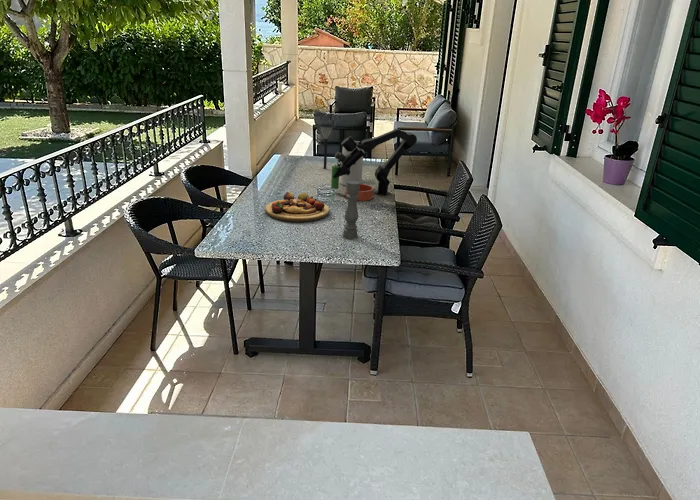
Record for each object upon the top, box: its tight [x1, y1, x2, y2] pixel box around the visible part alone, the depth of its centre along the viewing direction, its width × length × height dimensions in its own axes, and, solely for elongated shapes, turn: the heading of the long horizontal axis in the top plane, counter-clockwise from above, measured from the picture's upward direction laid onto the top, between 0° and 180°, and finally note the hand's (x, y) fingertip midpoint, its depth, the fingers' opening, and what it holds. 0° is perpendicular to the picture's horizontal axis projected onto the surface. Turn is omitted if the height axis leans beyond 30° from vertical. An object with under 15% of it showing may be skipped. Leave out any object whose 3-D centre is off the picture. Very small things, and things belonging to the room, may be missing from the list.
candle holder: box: [342, 181, 360, 240], centre depth 222 cm, size 6×6×25 cm
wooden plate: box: [264, 190, 330, 222], centre depth 252 cm, size 32×32×8 cm
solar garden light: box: [316, 121, 336, 170], centre depth 332 cm, size 12×12×30 cm
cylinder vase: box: [340, 140, 365, 187], centre depth 302 cm, size 12×12×25 cm
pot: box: [344, 183, 375, 202], centre depth 282 cm, size 16×16×6 cm
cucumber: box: [330, 164, 340, 190], centre depth 284 cm, size 4×4×13 cm
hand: (332, 176), depth 284 cm, fingers closed on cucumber, 4 cm apart
